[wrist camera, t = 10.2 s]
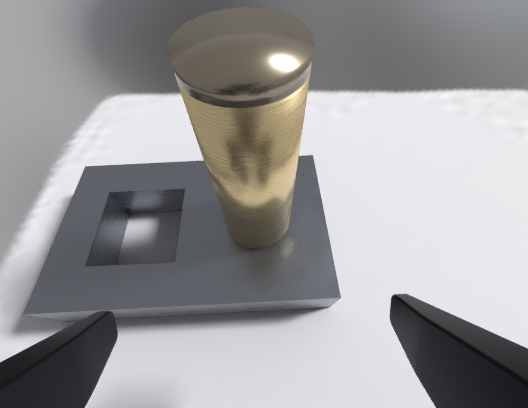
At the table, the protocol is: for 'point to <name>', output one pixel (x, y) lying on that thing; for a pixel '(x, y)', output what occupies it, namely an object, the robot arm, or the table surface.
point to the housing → (181, 250)
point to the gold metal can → (247, 111)
